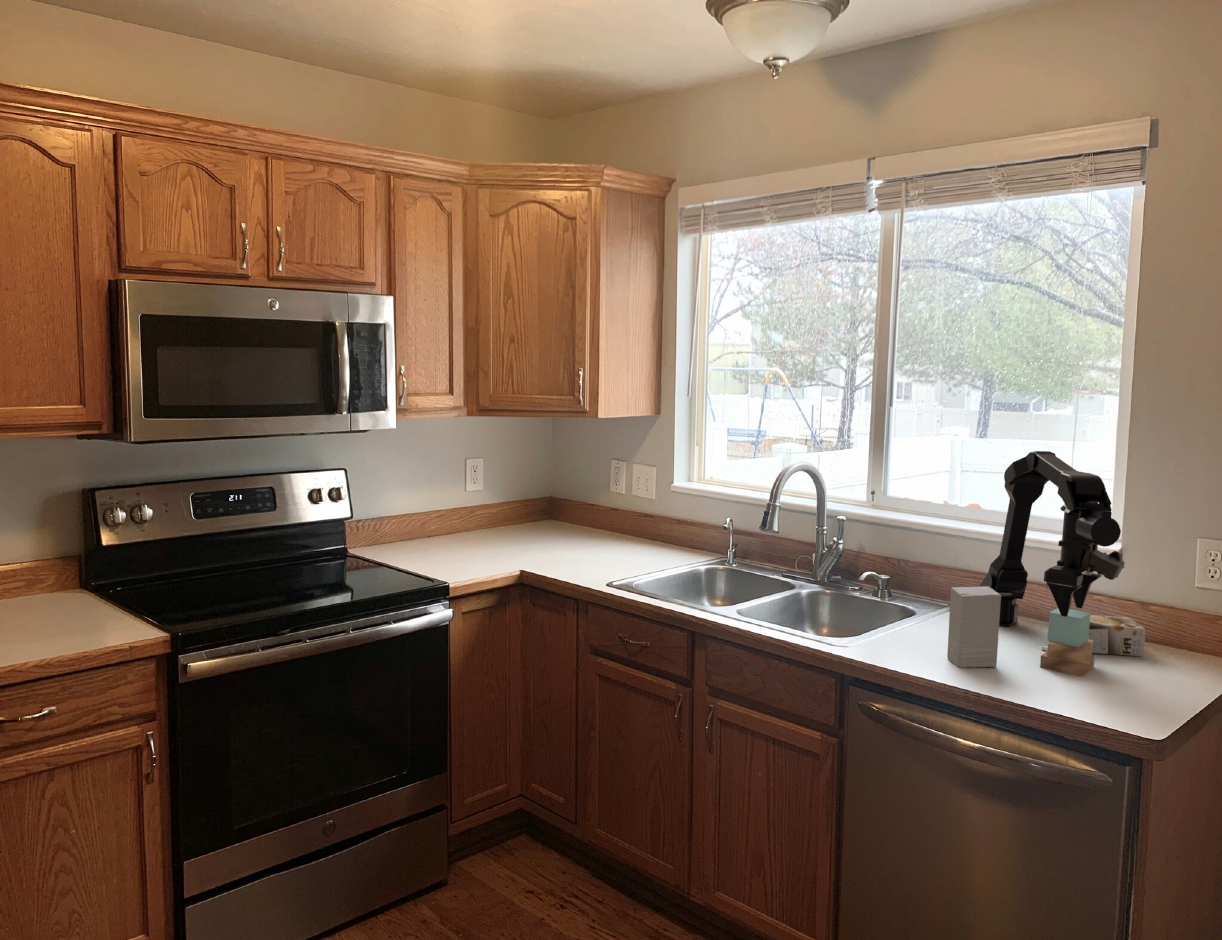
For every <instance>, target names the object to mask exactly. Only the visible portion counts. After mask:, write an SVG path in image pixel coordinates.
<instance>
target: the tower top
mask: <svg viewBox="0 0 1222 940" xmlns="http://www.w3.org/2000/svg"><path fill="white" fill-rule="evenodd" d="M1092 649H1093V640H1090V639H1088V642H1086V643H1085V644H1083V645H1081V646H1080V647H1074V646H1070V645H1065V644H1060V643H1056V642H1051V641H1047V651H1046V652H1047V658H1051V659H1057V660H1063V661H1070V662H1076V663H1083V664H1089V665H1091V659H1092V655H1093V653H1092Z"/></svg>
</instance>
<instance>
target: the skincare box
mask: <svg viewBox="0 0 1222 940" xmlns="http://www.w3.org/2000/svg"><path fill="white" fill-rule="evenodd" d="M949 599H950V602H949V619H948V620H949V621H948V635H947V636H948V641H947V653H946V654H947V659H948V660H949V661H950V662H951V663H952V664H953V665H955V666H956V667H957V668H959V669H960V668H961V669H962V668H963V669H965V668H996V667H997V663H998V647H999V635H1000V634H999V632H1000V625H999V618H1000V603H1001V595H1000V594H999V593H997V592H996V591H994V590H993V589H992V588H990V587H988V586H986V587H980V586H960V587H959V586H958V587H957V586H953V587H951V588H950V598H949Z"/></svg>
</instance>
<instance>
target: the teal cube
mask: <svg viewBox="0 0 1222 940" xmlns="http://www.w3.org/2000/svg"><path fill="white" fill-rule="evenodd" d="M1090 615H1092V614H1091V612H1087V611H1081V610H1077V609H1071V608H1070V609H1069V612H1068V616H1067V617H1065V616H1061V614H1060V611H1059V609H1058V607H1057V608H1056V609H1053V610H1050V612H1049V616H1048V617H1049V618H1048V629H1047V630H1048V631H1047V642H1049V641H1051V642H1056V643H1060V644H1065V645H1070V646H1074V647H1080V646H1081V645H1083V644H1085V643H1086V642H1088V636H1089V625H1090Z"/></svg>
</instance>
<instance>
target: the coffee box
mask: <svg viewBox="0 0 1222 940" xmlns="http://www.w3.org/2000/svg"><path fill="white" fill-rule="evenodd" d="M1088 639H1090V640H1093V649H1092V654H1098V655H1099V654H1103V655H1115V656H1117V655H1119V656H1133V657H1135V656H1136V657H1144V653H1145V652H1144V651H1145V639H1146V628H1144V627H1143V626H1142V625H1141V624H1139V623H1138V622H1136V621H1135V620H1134V619H1132V618H1131V617H1129V616H1128V617H1127V616H1115V615H1114V616H1111V615H1093V614H1090V625H1089V636H1088Z"/></svg>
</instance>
